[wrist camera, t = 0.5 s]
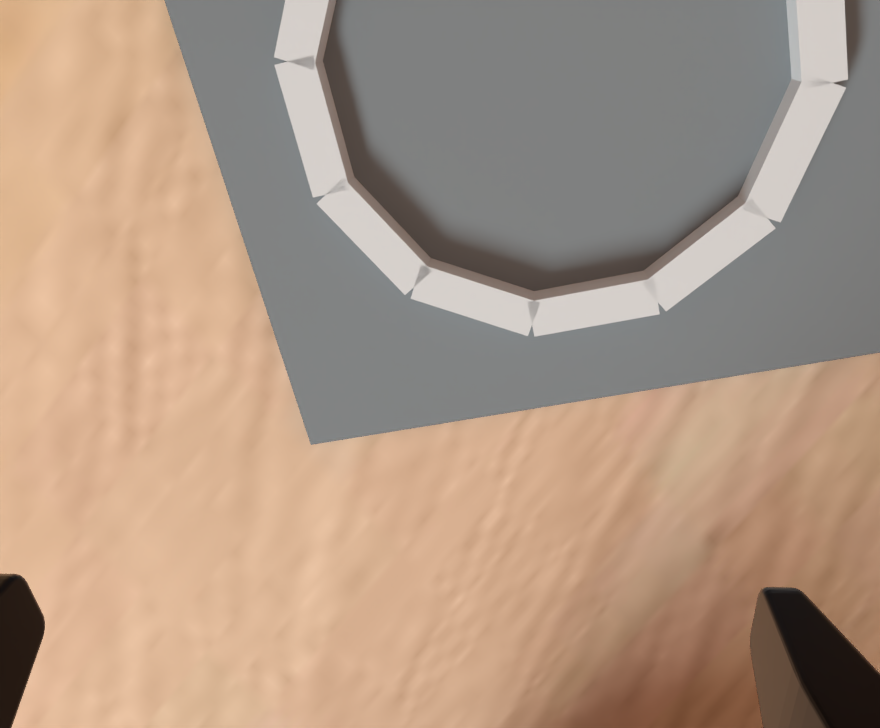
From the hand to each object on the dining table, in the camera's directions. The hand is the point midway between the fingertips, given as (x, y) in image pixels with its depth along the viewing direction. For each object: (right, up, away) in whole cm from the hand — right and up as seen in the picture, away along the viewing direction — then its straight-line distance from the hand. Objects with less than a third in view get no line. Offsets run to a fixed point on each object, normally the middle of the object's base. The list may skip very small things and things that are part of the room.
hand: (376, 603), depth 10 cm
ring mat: (+4, +10, +10) cm, 15 cm away
